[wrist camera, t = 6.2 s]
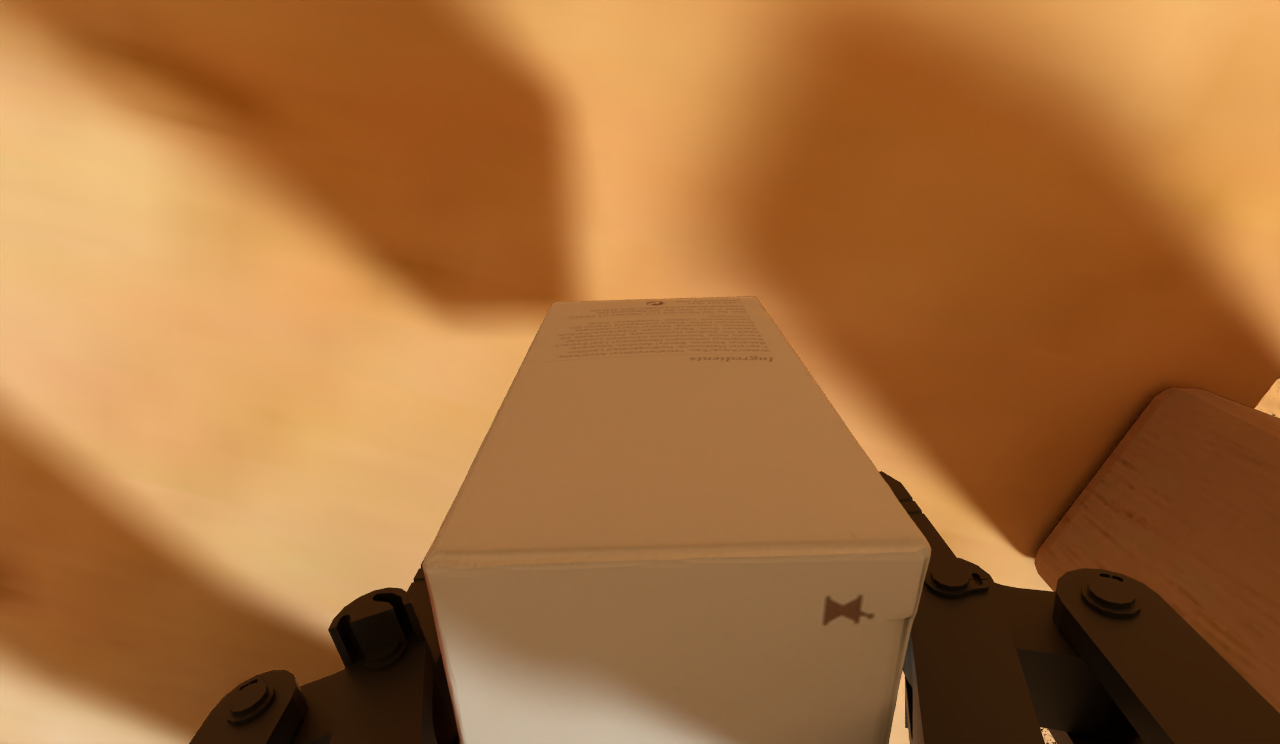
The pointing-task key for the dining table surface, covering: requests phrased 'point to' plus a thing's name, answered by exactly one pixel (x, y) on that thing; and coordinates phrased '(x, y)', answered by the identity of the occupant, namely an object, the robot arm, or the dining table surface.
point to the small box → (672, 544)
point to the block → (1190, 524)
